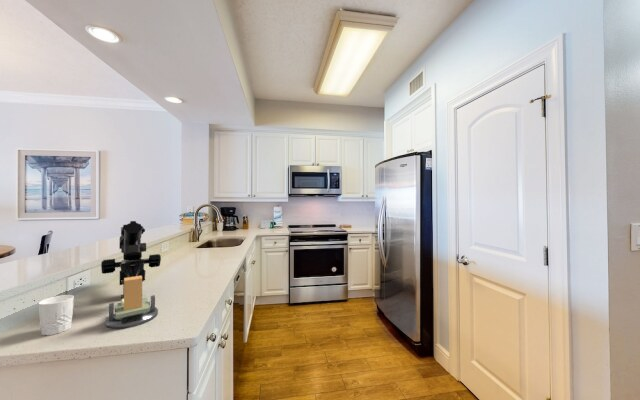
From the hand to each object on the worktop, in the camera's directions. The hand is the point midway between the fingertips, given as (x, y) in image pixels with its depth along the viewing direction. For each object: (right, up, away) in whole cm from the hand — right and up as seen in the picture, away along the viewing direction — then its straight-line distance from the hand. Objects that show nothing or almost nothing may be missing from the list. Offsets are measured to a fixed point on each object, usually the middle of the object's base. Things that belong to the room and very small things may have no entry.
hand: (132, 282), depth 95 cm
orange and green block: (+5, -7, -6) cm, 10 cm away
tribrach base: (+5, -11, -6) cm, 13 cm away
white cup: (-14, -11, -15) cm, 23 cm away
